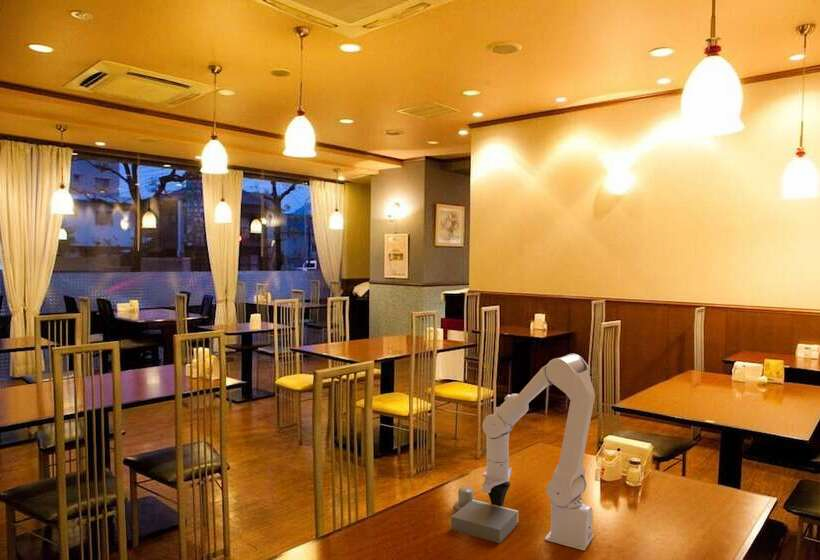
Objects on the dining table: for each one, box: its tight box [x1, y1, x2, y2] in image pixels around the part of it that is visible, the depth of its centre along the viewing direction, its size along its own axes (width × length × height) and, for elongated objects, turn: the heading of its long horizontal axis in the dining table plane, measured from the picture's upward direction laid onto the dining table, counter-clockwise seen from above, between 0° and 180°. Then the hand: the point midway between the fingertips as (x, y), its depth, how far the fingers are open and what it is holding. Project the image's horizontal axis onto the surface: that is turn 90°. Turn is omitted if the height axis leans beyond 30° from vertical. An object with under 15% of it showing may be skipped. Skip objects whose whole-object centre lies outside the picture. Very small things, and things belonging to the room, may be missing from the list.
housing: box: [450, 501, 518, 545], centre depth 144 cm, size 13×11×3 cm
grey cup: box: [454, 486, 474, 511], centre depth 156 cm, size 6×6×5 cm
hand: (497, 510), depth 151 cm, fingers closed
